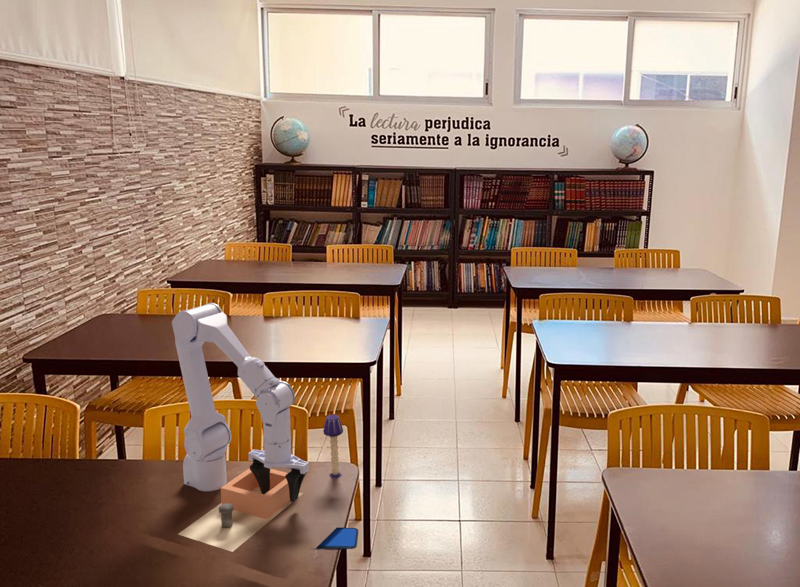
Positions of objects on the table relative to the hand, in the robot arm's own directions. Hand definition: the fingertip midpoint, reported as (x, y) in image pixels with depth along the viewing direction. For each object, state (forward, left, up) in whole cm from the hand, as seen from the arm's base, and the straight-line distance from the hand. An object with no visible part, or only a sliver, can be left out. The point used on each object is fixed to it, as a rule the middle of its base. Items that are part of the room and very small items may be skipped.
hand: (279, 495), depth 150 cm
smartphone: (+14, -5, -4) cm, 15 cm away
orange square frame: (-5, 0, -2) cm, 6 cm away
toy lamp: (+4, +17, -4) cm, 18 cm away
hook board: (-5, -6, -4) cm, 9 cm away
